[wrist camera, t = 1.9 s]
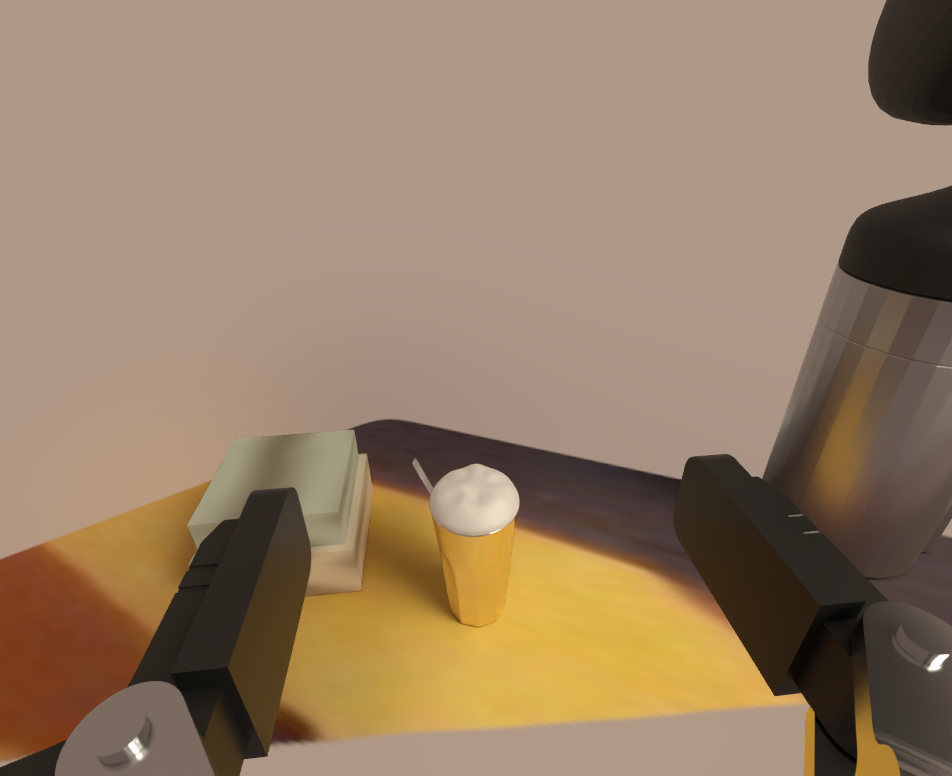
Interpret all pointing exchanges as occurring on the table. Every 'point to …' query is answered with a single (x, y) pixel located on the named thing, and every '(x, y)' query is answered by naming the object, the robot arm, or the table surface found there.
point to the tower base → (301, 498)
